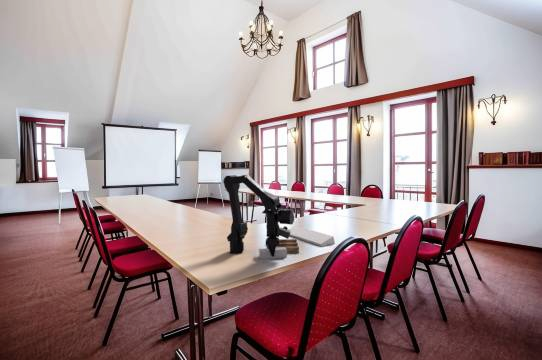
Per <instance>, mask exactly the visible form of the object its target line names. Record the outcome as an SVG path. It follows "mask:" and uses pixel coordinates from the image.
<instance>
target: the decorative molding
mask: <svg viewBox="0 0 542 360" xmlns="http://www.w3.org/2000/svg"><path fill="white" fill-rule="evenodd" d="M288 230H289V231H290V232H291V233H290V236H289V237H292V238H294V239H298V240H301V241H304V242H308V243H309V244H310V243H311V244H312V245H316V246H320V247H326V246H329V245H334V244H336V243H335V238H334V237H335V236H334V235H331V234H326V233H322V232H319V231H315V230H312V229H308V228H305V227H301V226H298V225H294V226H292V227H291V228H289V229H288Z"/></svg>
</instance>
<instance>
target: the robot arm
mask: <svg viewBox="0 0 542 360" xmlns="http://www.w3.org/2000/svg"><path fill="white" fill-rule="evenodd" d="M222 182H223V185H224V189H225V190H226V192H227V194H228V196H229V197H228V199H229V205H230V210H231V218H232V222H231V225H230V233H229V234H228V235H227V236H226V239H227V242H229V252H228V253H229V254H242V253H243V252H244V251H245V245H244V244H245V242H244V239H245V237H246V235H247V234H248V230H249V228H248V222H247V221H244V220H243V215H242V209H241V203H240V195H239V190H240V188H241V187H240V186H241V185H240V184H244V185H245V186H246V188H248V189H249V190H250V191H251V192H252V193H253V194H254V195H256V196H257V197H258V198H259V200H260V202H261V204H262V205H263V207H265V208H264V210H263V211H262V212H261V213H262V214H265V215H266V217H265V218H266V226H265V227H266V238H265V246H266V248H267V247H268V249H269V251H270V253H271V256H272V257H274V254H275V249H276V246H277V245H279V239H280V237H283V238H284V239H290V237H291V236H290V233H291V232H290V231H289V229H288V226H286V225H293V224H294V223H295V216H294V215H295V214H294V212H293V209H285V208H284V206H283V205H282V204H281V202H280V200H281V199H279V198H278V196H276V195H275V194H273V193H271V192H268V191H266V190H265V188H263V187H262V186H261V185H260V184H259V183H258V182H257V181H255V180H254V179H253V178H252V177H251V176H250V175H249V174H242V175H239V176H238V175H236V174H235V175H234V174H232V175H226V176H225V177H223V181H222ZM280 224H281V225H284V226H283V227H280Z"/></svg>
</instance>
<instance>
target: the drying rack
mask: <svg viewBox="0 0 542 360" xmlns="http://www.w3.org/2000/svg"><path fill="white" fill-rule="evenodd" d="M297 239H298V238H288V239H287V238H279V245H277V246H276V248H280V247H285V248H286V249H287V254H295V253H296V254H298V253H300V246H299V243H298V240H297ZM267 248H268V247H267V246H266V249H267Z"/></svg>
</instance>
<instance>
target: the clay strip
mask: <svg viewBox="0 0 542 360" xmlns="http://www.w3.org/2000/svg"><path fill="white" fill-rule="evenodd" d="M258 257H259V260H270V259H280V258H281V259H284V258H287V257H288V253H287V249H286V248H285V247H280V248H276V249H275V254H274V257H272V256H271V253H270V251H269V249H268V248H267V247H266V248H258Z"/></svg>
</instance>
